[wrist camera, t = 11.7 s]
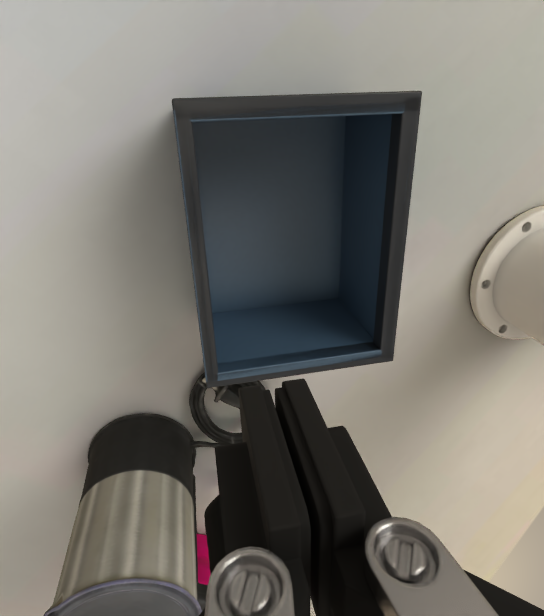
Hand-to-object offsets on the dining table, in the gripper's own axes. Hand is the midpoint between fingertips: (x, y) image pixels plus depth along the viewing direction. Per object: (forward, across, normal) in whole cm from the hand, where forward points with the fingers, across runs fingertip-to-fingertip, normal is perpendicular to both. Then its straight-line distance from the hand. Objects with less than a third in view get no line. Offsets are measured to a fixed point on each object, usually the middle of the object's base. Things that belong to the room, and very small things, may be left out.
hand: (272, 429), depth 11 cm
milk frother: (+22, +5, +18) cm, 29 cm away
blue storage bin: (+18, +2, 0) cm, 18 cm away
